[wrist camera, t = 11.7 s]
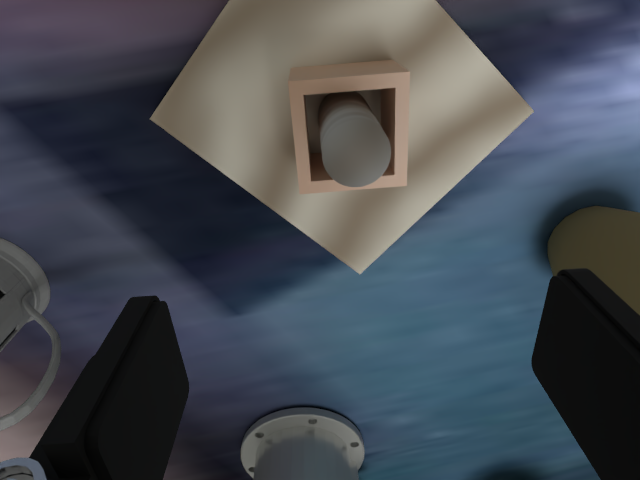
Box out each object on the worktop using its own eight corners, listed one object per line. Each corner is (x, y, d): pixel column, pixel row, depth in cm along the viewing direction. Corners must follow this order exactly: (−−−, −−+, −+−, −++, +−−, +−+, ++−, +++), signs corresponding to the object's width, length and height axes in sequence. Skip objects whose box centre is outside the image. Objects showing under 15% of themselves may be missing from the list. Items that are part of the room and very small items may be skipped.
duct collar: (391, 157, 28) (406, 185, 24) (300, 164, 28) (299, 194, 24) (392, 59, 25) (410, 71, 21) (290, 67, 26) (287, 81, 21)
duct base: (523, 106, 28) (613, 149, 20) (357, 263, 34) (374, 348, 26) (317, -125, 22) (323, -198, 14) (156, 113, 28) (94, 160, 20)
